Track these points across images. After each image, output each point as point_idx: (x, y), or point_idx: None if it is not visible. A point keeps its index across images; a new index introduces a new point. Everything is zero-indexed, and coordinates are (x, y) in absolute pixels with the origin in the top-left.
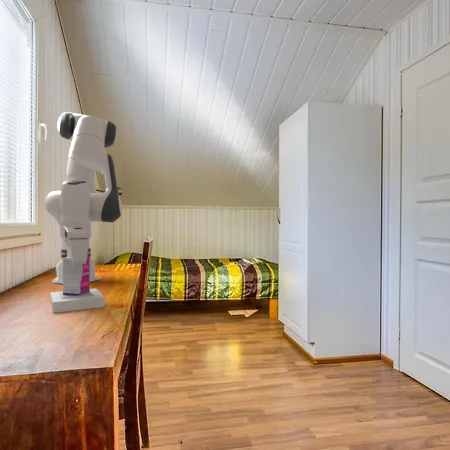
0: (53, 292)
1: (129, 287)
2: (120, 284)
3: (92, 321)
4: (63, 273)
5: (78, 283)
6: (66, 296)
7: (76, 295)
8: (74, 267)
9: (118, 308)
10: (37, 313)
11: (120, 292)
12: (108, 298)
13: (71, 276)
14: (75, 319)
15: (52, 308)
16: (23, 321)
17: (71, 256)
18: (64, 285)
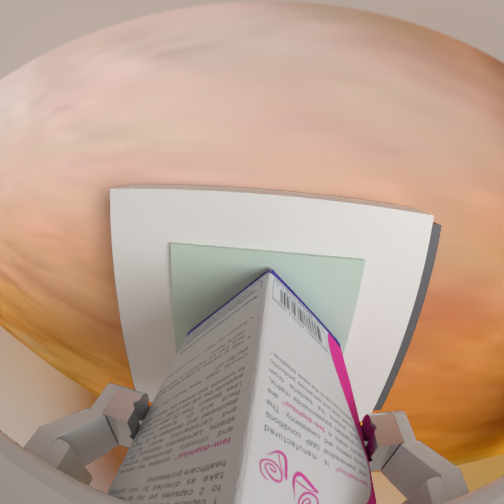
0: (424, 234)
1: None
2: (470, 443)
3: (14, 282)
4: (249, 365)
5: (165, 379)
6: (204, 276)
7: None
8: (58, 434)
9: None
10: (166, 119)
11: None
12: None
13: (182, 388)
14: (34, 248)
15: (167, 185)
16: (76, 84)
17: (4, 501)
18: (250, 304)
